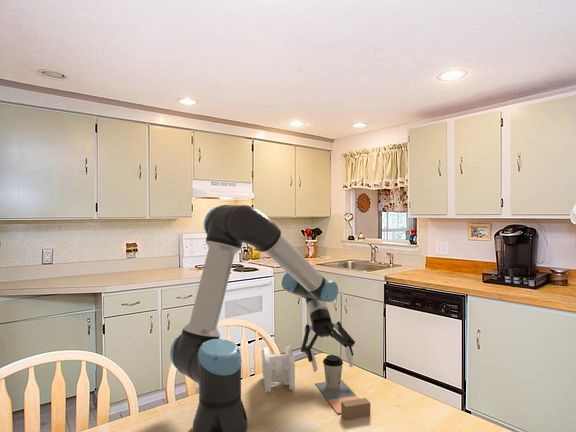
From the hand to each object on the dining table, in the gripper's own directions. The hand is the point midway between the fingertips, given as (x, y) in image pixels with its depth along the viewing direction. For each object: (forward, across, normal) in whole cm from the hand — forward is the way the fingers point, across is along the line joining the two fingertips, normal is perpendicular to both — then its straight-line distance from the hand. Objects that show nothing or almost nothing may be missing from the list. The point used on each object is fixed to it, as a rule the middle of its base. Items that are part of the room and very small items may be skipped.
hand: (334, 368), depth 130 cm
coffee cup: (+5, +1, -4) cm, 6 cm away
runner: (+10, +1, +1) cm, 11 cm away
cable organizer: (0, +19, -9) cm, 21 cm away
